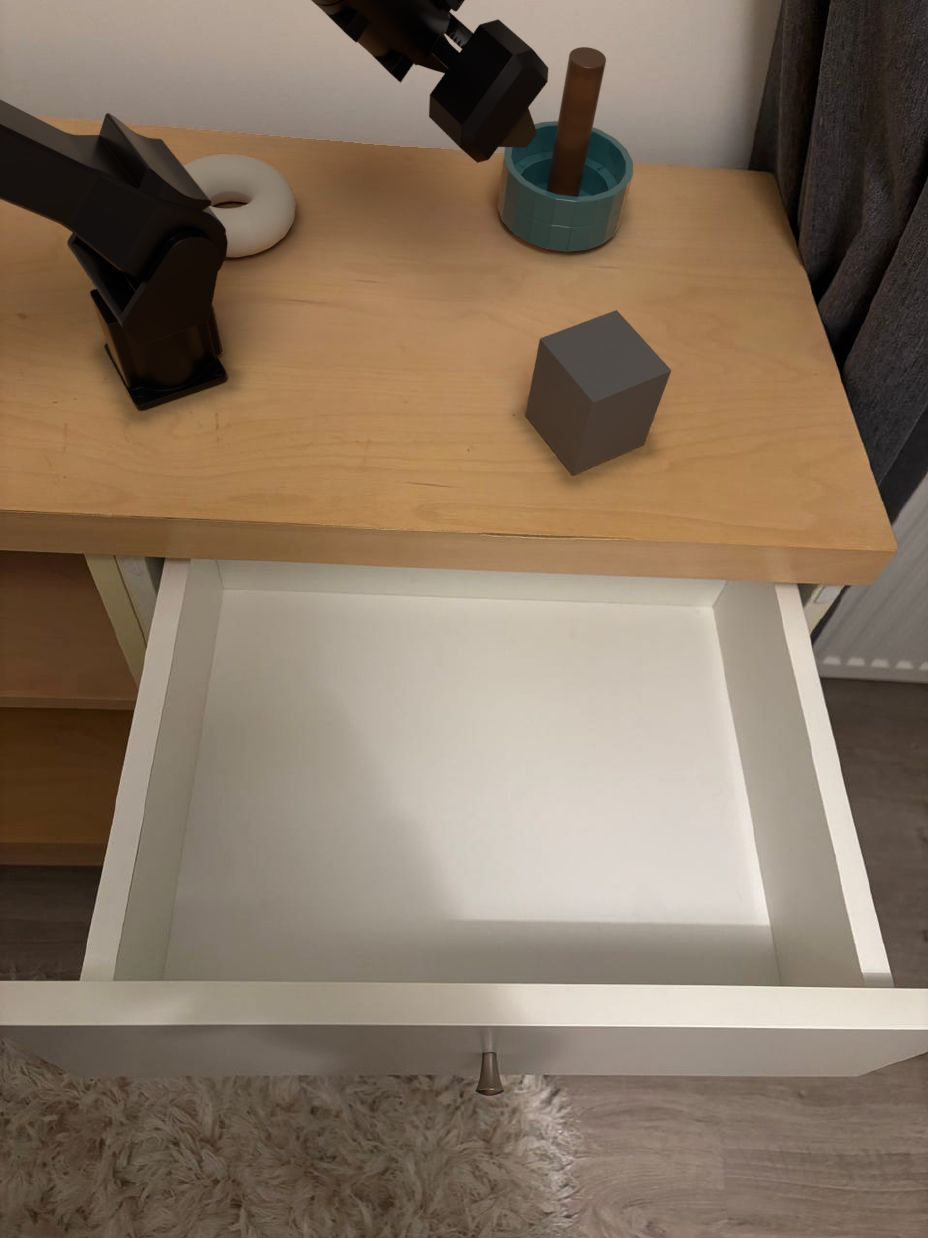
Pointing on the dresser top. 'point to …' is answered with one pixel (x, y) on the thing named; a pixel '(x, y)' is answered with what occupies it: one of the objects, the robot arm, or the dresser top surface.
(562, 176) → the stick
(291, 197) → the donut
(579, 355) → the cube
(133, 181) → the robot arm
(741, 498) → the dresser top surface
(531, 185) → the bowl
